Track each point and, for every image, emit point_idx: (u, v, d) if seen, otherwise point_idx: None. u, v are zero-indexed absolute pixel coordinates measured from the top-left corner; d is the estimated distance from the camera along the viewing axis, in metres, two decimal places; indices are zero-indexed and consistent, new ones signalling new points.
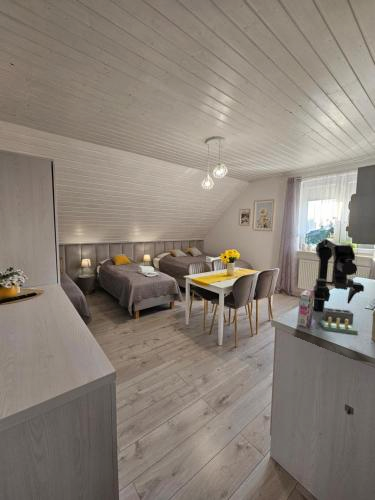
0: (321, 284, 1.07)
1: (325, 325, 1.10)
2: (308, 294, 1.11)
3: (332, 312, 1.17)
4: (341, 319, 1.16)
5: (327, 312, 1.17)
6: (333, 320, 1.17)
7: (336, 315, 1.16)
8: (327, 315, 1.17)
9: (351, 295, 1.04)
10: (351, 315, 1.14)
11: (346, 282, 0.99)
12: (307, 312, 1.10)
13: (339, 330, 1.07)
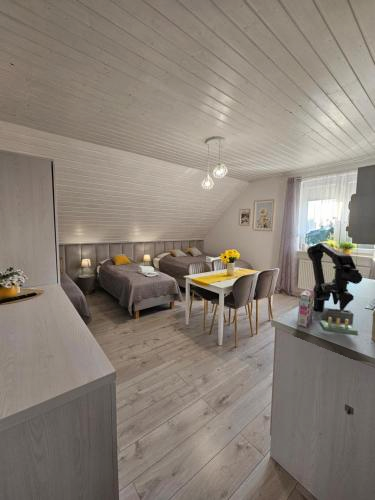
0: None
1: (325, 325, 1.10)
2: (308, 294, 1.11)
3: (332, 312, 1.17)
4: (341, 319, 1.16)
5: (327, 312, 1.17)
6: (333, 320, 1.17)
7: (336, 315, 1.16)
8: (327, 315, 1.17)
9: (339, 302, 1.13)
10: (351, 315, 1.14)
11: (325, 285, 1.17)
12: (307, 312, 1.10)
13: (339, 330, 1.07)
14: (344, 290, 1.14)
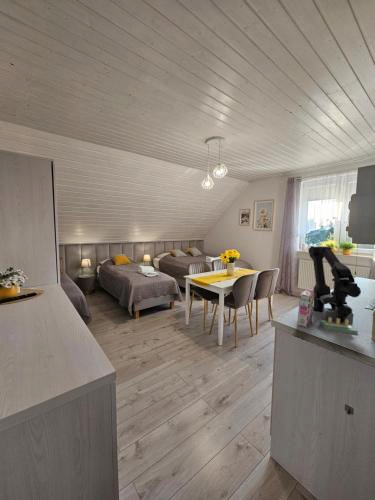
0: None
1: (325, 325, 1.10)
2: (308, 294, 1.11)
3: (332, 312, 1.17)
4: None
5: (327, 312, 1.17)
6: (333, 320, 1.17)
7: (336, 315, 1.16)
8: (327, 315, 1.17)
9: (338, 315, 1.13)
10: (351, 315, 1.14)
11: (324, 298, 1.18)
12: (307, 312, 1.10)
13: (339, 330, 1.07)
14: (343, 303, 1.14)
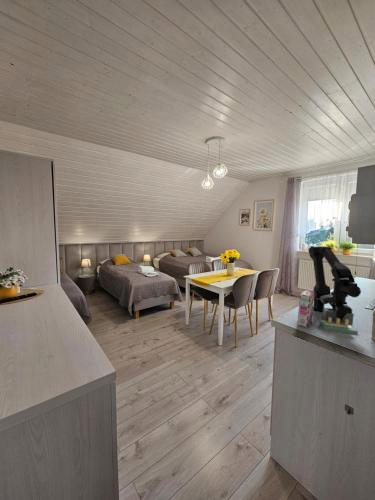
0: None
1: (325, 325, 1.10)
2: (308, 294, 1.11)
3: (332, 312, 1.17)
4: None
5: (327, 312, 1.17)
6: (333, 320, 1.17)
7: (336, 315, 1.16)
8: (327, 315, 1.17)
9: (337, 313, 1.15)
10: (351, 315, 1.14)
11: (324, 298, 1.18)
12: (307, 312, 1.10)
13: (339, 330, 1.07)
14: (343, 303, 1.14)
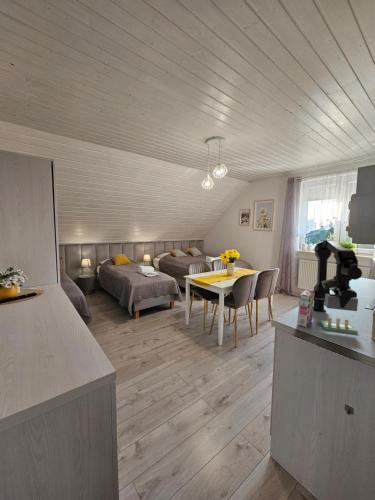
0: None
1: (325, 325, 1.10)
2: (308, 294, 1.11)
3: (335, 298, 1.08)
4: (345, 305, 1.07)
5: (329, 298, 1.08)
6: (336, 306, 1.08)
7: (339, 301, 1.07)
8: (329, 301, 1.09)
9: (340, 299, 1.06)
10: (355, 300, 1.05)
11: (326, 282, 1.09)
12: (307, 312, 1.10)
13: (339, 330, 1.07)
14: (346, 287, 1.06)
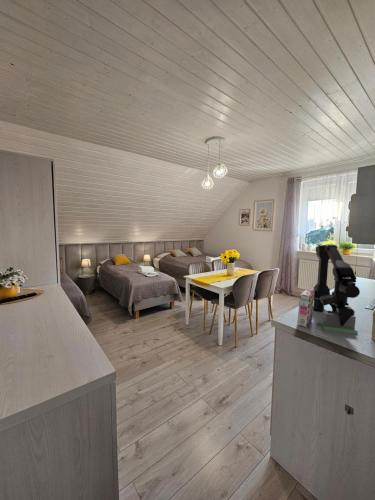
0: None
1: (325, 325, 1.10)
2: (308, 294, 1.11)
3: (333, 315, 1.09)
4: None
5: (327, 315, 1.09)
6: (334, 324, 1.09)
7: (337, 318, 1.08)
8: (327, 318, 1.09)
9: (339, 317, 1.05)
10: (353, 318, 1.06)
11: (324, 298, 1.10)
12: (307, 312, 1.10)
13: (339, 330, 1.07)
14: (344, 304, 1.06)
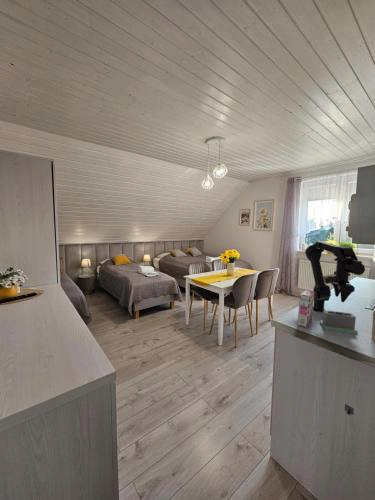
0: None
1: (325, 325, 1.10)
2: (308, 294, 1.11)
3: (333, 315, 1.09)
4: (342, 323, 1.08)
5: (327, 315, 1.09)
6: (334, 324, 1.09)
7: (337, 318, 1.08)
8: (327, 318, 1.09)
9: (341, 294, 1.13)
10: (353, 318, 1.06)
11: (326, 277, 1.18)
12: (307, 312, 1.10)
13: (339, 330, 1.07)
14: (345, 282, 1.15)
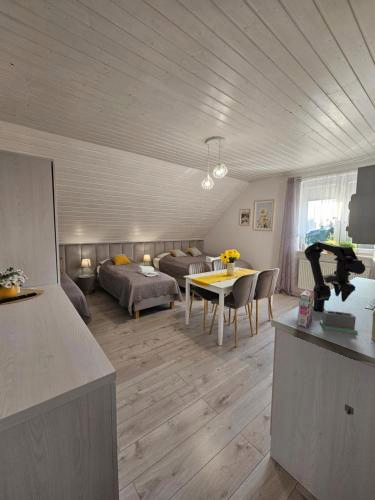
0: None
1: (325, 325, 1.10)
2: (308, 294, 1.11)
3: (333, 315, 1.09)
4: (342, 323, 1.08)
5: (327, 315, 1.09)
6: (334, 324, 1.09)
7: (337, 318, 1.08)
8: (327, 318, 1.09)
9: (341, 293, 1.14)
10: (353, 318, 1.06)
11: (327, 277, 1.18)
12: (307, 312, 1.10)
13: (339, 330, 1.07)
14: (346, 281, 1.15)
